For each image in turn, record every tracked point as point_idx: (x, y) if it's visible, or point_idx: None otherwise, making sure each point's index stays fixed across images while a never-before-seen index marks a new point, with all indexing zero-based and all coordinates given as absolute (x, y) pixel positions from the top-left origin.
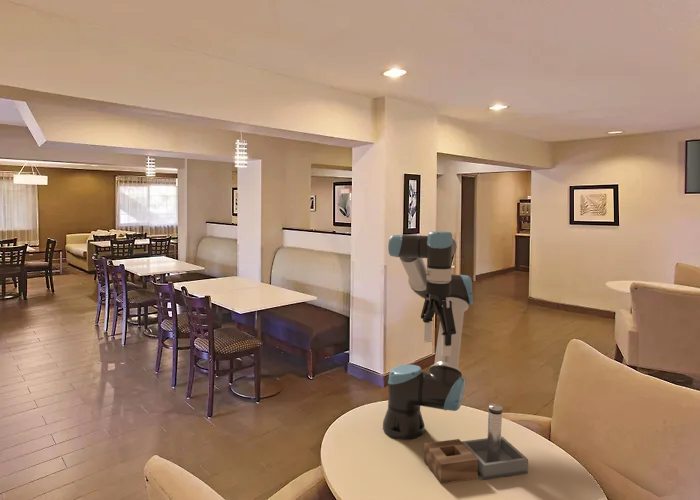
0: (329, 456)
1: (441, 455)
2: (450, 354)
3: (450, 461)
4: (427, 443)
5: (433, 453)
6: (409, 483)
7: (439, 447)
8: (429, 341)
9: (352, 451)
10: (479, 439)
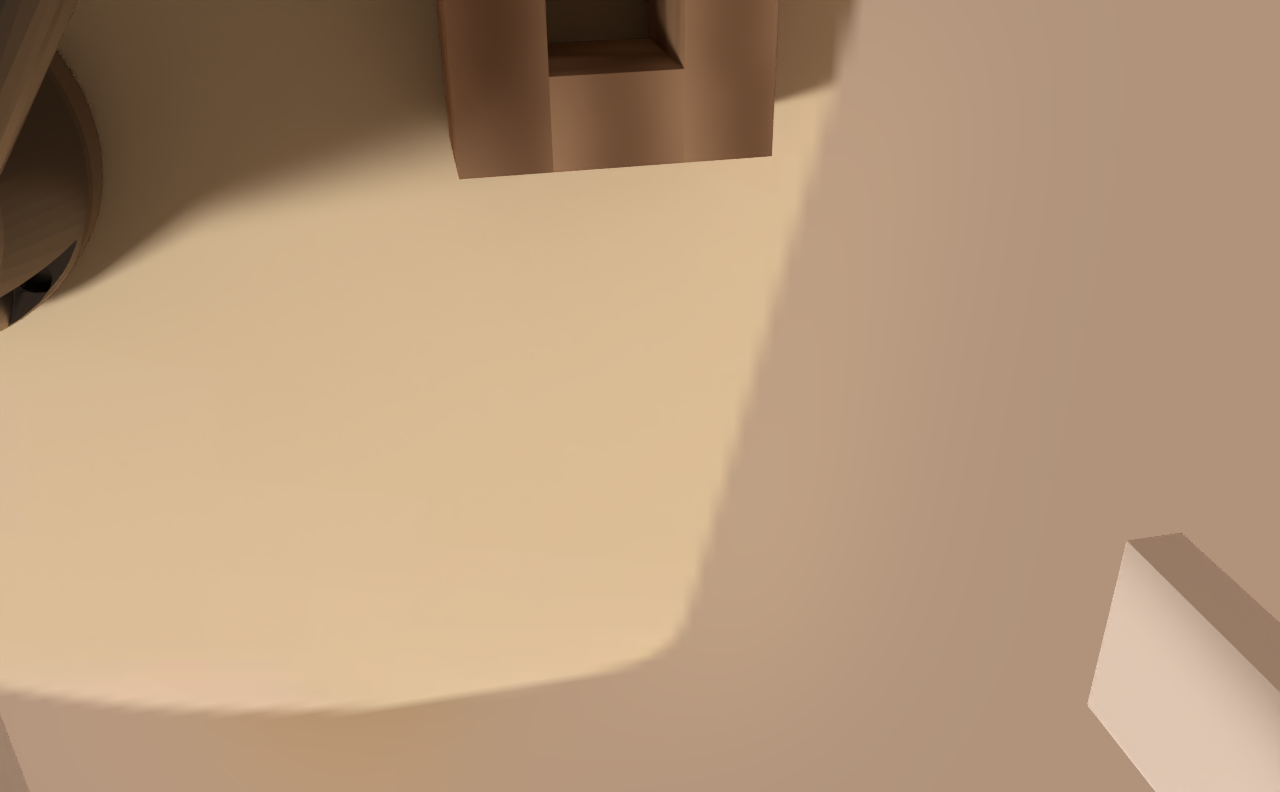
0: (315, 692)
1: (662, 106)
2: (1197, 557)
3: (754, 67)
4: (465, 155)
5: (623, 160)
6: (670, 304)
7: (545, 75)
8: (13, 782)
9: (263, 572)
10: None
